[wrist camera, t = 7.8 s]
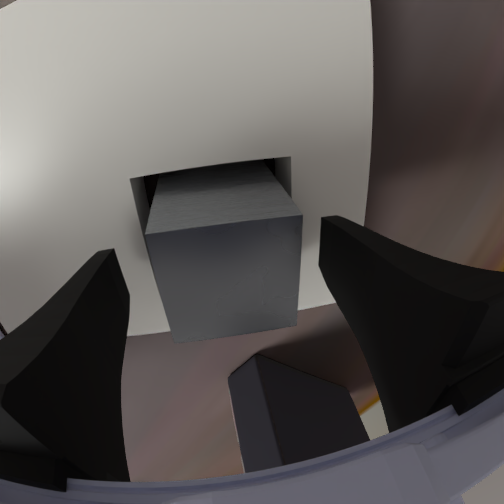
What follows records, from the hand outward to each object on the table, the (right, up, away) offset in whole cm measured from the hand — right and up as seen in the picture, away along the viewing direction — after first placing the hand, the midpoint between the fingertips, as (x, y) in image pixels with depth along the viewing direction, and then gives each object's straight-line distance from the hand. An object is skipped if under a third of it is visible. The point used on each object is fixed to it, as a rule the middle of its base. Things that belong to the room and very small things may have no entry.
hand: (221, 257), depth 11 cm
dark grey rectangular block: (+4, -10, +12) cm, 16 cm away
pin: (-1, +2, +3) cm, 4 cm away
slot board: (-4, +4, +1) cm, 6 cm away
